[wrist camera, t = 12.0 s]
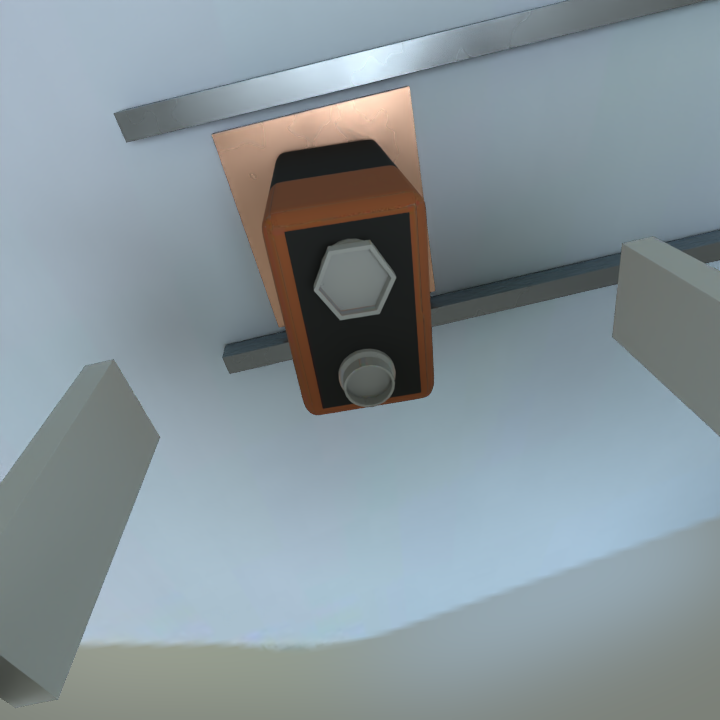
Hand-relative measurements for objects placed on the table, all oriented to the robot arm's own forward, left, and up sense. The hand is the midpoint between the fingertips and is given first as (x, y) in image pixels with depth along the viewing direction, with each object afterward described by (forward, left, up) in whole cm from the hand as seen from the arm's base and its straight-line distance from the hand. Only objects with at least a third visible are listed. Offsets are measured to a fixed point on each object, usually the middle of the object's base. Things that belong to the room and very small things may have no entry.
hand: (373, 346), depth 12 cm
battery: (0, 0, -11) cm, 11 cm away
